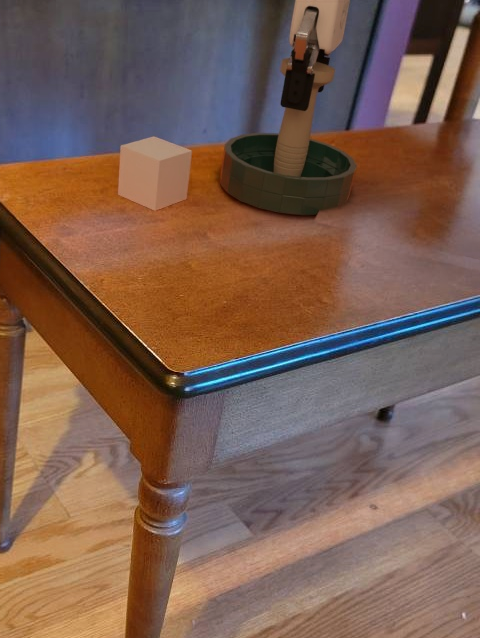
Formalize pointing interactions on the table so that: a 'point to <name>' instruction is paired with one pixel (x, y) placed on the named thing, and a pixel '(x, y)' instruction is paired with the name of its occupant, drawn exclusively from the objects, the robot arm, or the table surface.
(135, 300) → the table surface
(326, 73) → the handle
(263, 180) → the bowl
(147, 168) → the beige cube
